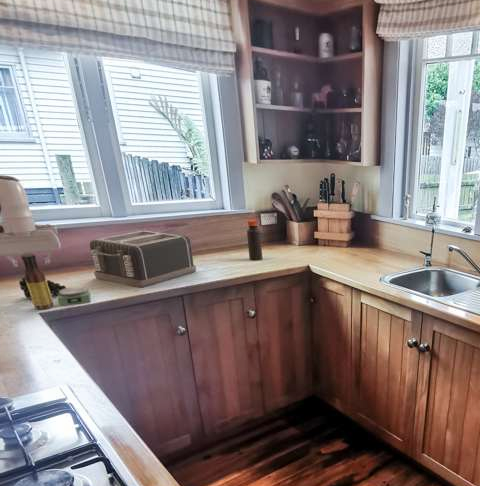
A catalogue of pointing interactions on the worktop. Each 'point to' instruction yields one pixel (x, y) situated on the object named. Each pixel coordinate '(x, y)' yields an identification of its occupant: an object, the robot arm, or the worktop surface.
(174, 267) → the toaster
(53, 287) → the fruit
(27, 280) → the sauce bottle
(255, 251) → the vinegar
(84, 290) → the scale pan
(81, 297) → the scale
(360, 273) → the worktop surface
